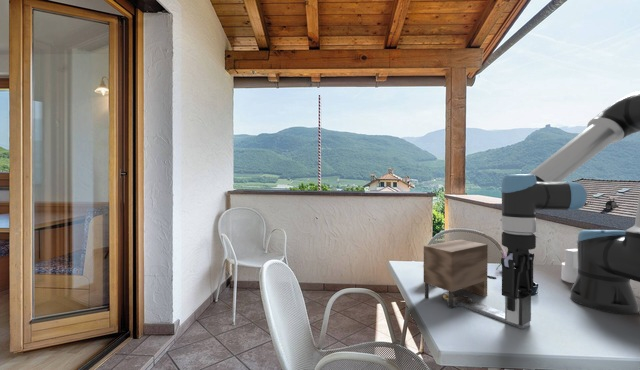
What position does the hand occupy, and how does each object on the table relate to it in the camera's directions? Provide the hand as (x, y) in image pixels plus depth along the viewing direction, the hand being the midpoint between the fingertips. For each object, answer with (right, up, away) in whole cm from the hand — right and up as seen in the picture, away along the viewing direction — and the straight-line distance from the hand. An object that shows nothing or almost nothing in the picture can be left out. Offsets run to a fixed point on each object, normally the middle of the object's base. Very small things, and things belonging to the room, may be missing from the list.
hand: (517, 319), depth 77 cm
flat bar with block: (-4, -1, +7) cm, 8 cm away
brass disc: (-11, -1, +17) cm, 20 cm away
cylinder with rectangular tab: (+46, -1, +34) cm, 57 cm away
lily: (+28, -1, +47) cm, 54 cm away
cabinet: (-8, -1, +19) cm, 20 cm away
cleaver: (+5, -1, +46) cm, 46 cm away
